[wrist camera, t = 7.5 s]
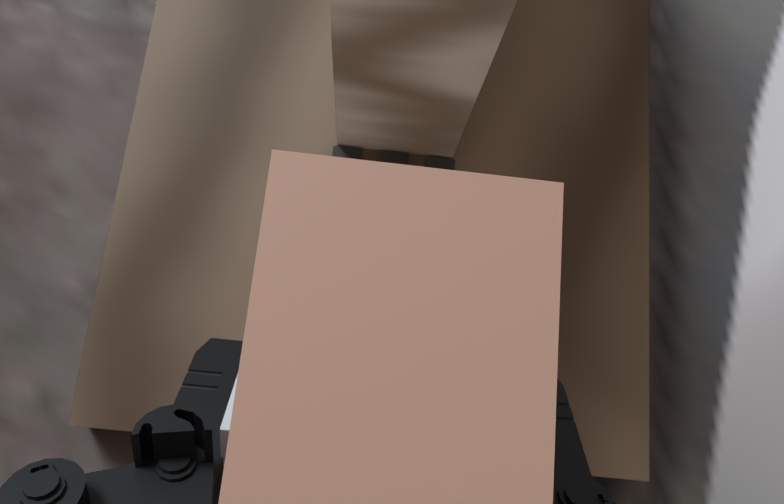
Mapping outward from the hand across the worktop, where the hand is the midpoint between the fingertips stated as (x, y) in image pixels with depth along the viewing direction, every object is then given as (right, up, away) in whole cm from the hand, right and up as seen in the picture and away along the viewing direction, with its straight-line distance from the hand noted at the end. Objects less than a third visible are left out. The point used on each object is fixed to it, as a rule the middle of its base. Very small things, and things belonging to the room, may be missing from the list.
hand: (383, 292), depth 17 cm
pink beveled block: (-1, -4, +2) cm, 5 cm away
